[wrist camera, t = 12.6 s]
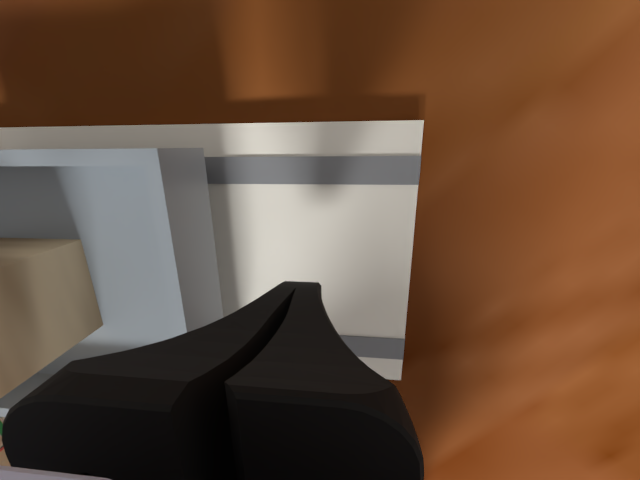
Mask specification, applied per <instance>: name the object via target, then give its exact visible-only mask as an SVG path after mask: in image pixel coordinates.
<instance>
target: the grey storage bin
mask: <svg viewBox="0 0 640 480" xmlns="http://www.w3.org/2000/svg"><path fill="white" fill-rule="evenodd" d="M0 238H36V239H81V242H82V246H83V249H84V253H85V257H86V261H87V265H88V269H89V272H90V276H91V280H92V284H93V288H94V291H95V295H96V299H97V303H98V307H99V310H100V314H101V318H102V322H103V326H101V327H100V328H99V329H97V330H96V331H94V332H93V333H92V334H90V335H89V336H87V337H86V338H85V339H83V340H82V341H80V342H79V343H78V344H76V345H75V346H73V347H72V348H71V349H69V350H68V351H66V352H65V353H64V354H62V355H61V356H59V357H58V358H57V359H55V360H54V361H52V362H51V363H50V364H48V365H47V366H45V367H44V368H43V369H41V370H40V371H38V372H37V373H36V374H34V375H33V376H31V377H30V378H28V379H27V380H26V381H24V382H23V383H21V384H20V385H19V386H17V387H16V388H14V389H13V390H12V391H10V392H9V393H7V394H6V395H5V396H3V397H2V398H0V417H6V415H7V413H8V411H9V409H10V408H11V407H13V406H14V405H15V404H16V403H18V402H19V401H20V400H21V399H23V398H24V397H25V396H27V395H28V394H29V393H31V392H32V391H33V390H35V389H36V388H37V387H39V386H40V385H41V384H42V383H44V382H45V381H46V380H48V379H49V378H50V377H51V376H53V375H54V374H55V373H57V372H58V371H59V370H60V369H62V368H63V367H64V366H66V365H67V364H68V363H70V362H71V361H74V360H80V359H85V358H90V357H96V356H101V355H106V354H111V353H116V352H121V351H125V350H130V349H134V348H138V347H142V346H145V345H149V344H153V343H156V342H160V341H163V340H167V339H170V338H173V337H176V336H179V335H181V334H184V333H187V332H190V331H193V330H195V329H198V328H201V327H203V326H206V325H208V324H210V323H213V322H215V321H217V320H219V319H221V318H223V309H222V300H221V292H220V283H219V275H218V267H217V258H216V250H215V241H214V233H213V225H212V216H211V208H210V199H209V191H208V183H207V174H206V166H205V157H204V149H203V148H120V149H4V150H0Z"/></svg>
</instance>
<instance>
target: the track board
mask: <svg viewBox="0 0 640 480" xmlns="http://www.w3.org/2000/svg"><path fill="white" fill-rule="evenodd" d="M423 126H424V120H401V121H344V122H287V123H230V124H173V125H116V126H59V127H2V128H0V150H4V149H120V148H203V149H204V157H205V166H206V174H207V183H208V191H209V199H210V208H211V216H212V225H213V233H214V241H215V250H216V258H217V267H218V275H219V283H220V292H221V300H222V309H223V317H226V316H228V315H229V314H231V313H233V312H235V311H237V310H239V309H240V308H242V307H244V306H245V305H247V304H249V303H251V302H252V301H254V300H256V299H257V298H259V297H260V296H262V295H263V294H265V293H267V292H268V291H270V290H271V289H273V288H274V287H276V286H277V285H279V284H280V283H282V282H284V281H296V282H319V284H320V285H321V293H322V302H323V304H324V307H325V310H326V312H327V315H328V317H329V319H330V321H331V323H332V324H333V326H334V328H335V330H336V331H337V333H338V334H339V336H340V337H341V338H342V340H343V341H344V342H345V344H346V345H347V346H348V347H349V348H350V349H351V350H352V352H353V353H354V354H355V355H356V356H357V357H358V358H359V359H360V360H361V361H362V362H364V363H365V364H366V365H367V366H368V367H369V368H371V369H372V370H374V371H375V372H376V373H378V374H379V375H381V376H382V377H384V378H385V379H390V380H401V374H402V363H403V356H404V345H405V329H406V318H407V306H408V295H409V284H410V272H411V261H412V250H413V239H414V227H415V216H416V205H417V193H418V185H419V177H420V165H421V148H422V137H423Z"/></svg>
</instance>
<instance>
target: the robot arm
mask: <svg viewBox="0 0 640 480" xmlns="http://www.w3.org/2000/svg"><path fill="white" fill-rule="evenodd" d="M2 443H3V447H4V450H5V454H6V456H7V459H8V461H9V463H10V465H11V467H10V466H1V465H0V480H423V479H424V464H423V455H422V451H421V447H420V444H419V441H418V438H417V435H416V432H415V429H414V426H413V423H412V421H411V418H410V416H409V413H408V411H407V409H406V406H405V404H404V402H403V400H402V398H401V396H400V394H399V392H398V390H397V388H396V386H395V385H394V384H392V383H391V382H390V381H388V380H387V379H385V378H384V377H382V376H381V375H379V374H378V373H376V372H375V371H374V370H372V369H371V368H369V367H368V366H367V365H366V364H365V363H364V362H362V361H361V360H360V359H359V358H358V357H357V356H356V355H355V354H354V353H353V352H352V350H351V349H350V348H349V347H348V346H347V345H346V344H345V342H344V341H343V340H342V338H341V337H340V336H339V334H338V333H337V331H336V330H335V328H334V326H333V324H332V323H331V321H330V319H329V317H328V315H327V312H326V310H325V307H324V304H323V302H322V293H321V285H320V284H319V282H296V281H284V282H282V283H280V284H279V285H277V286H276V287H274V288H273V289H271V290H270V291H268V292H267V293H265V294H263V295H262V296H260V297H259V298H257V299H256V300H254V301H252V302H251V303H249V304H247V305H245V306H244V307H242V308H240V309H239V310H237V311H235V312H233V313H231V314H229V315H228V316H226V317H223V318H221V319H219V320H217V321H215V322H213V323H210V324H208V325H206V326H203V327H201V328H198V329H195V330H193V331H190V332H187V333H184V334H181V335H179V336H176V337H173V338H170V339H167V340H163V341H160V342H156V343H153V344H149V345H145V346H142V347H138V348H134V349H130V350H125V351H121V352H116V353H111V354H106V355H101V356H96V357H90V358H85V359H80V360H74V361H71V362H70V363H68V364H67V365H66V366H64V367H63V368H62V369H60V370H59V371H58V372H57V373H55V374H54V375H53V376H51V377H50V378H49V379H48V380H46V381H45V382H44V383H42V384H41V385H40V386H39V387H37V388H36V389H35V390H33V391H32V392H31V393H29V394H28V395H27V396H25V397H24V398H23V399H21V400H20V401H19V402H18V403H16V404H15V405H14V406H13V407H11V408H10V409H9V411H8V413H7V415H6V417H5V419H4V421H3V426H2Z"/></svg>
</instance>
